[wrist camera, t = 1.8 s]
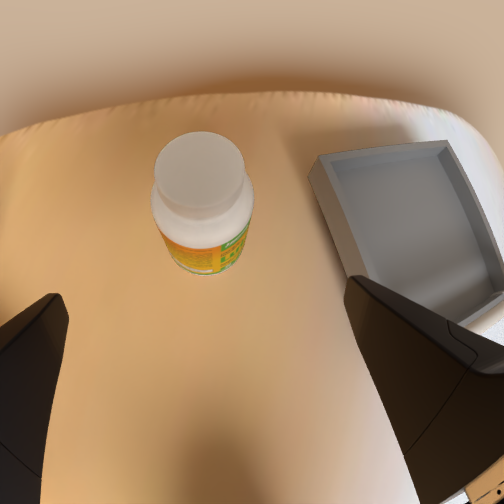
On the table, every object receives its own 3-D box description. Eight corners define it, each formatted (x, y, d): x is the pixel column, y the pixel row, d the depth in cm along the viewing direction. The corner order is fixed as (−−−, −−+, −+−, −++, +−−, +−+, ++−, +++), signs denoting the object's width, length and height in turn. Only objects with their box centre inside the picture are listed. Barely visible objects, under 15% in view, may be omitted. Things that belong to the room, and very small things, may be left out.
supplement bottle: (228, 288, 22) (237, 242, 12) (156, 261, 22) (116, 200, 12) (254, 219, 23) (277, 138, 14) (185, 196, 23) (170, 108, 14)
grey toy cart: (476, 306, 23) (539, 288, 16) (363, 368, 21) (427, 372, 13) (419, 167, 27) (465, 120, 19) (300, 190, 24) (332, 128, 17)
